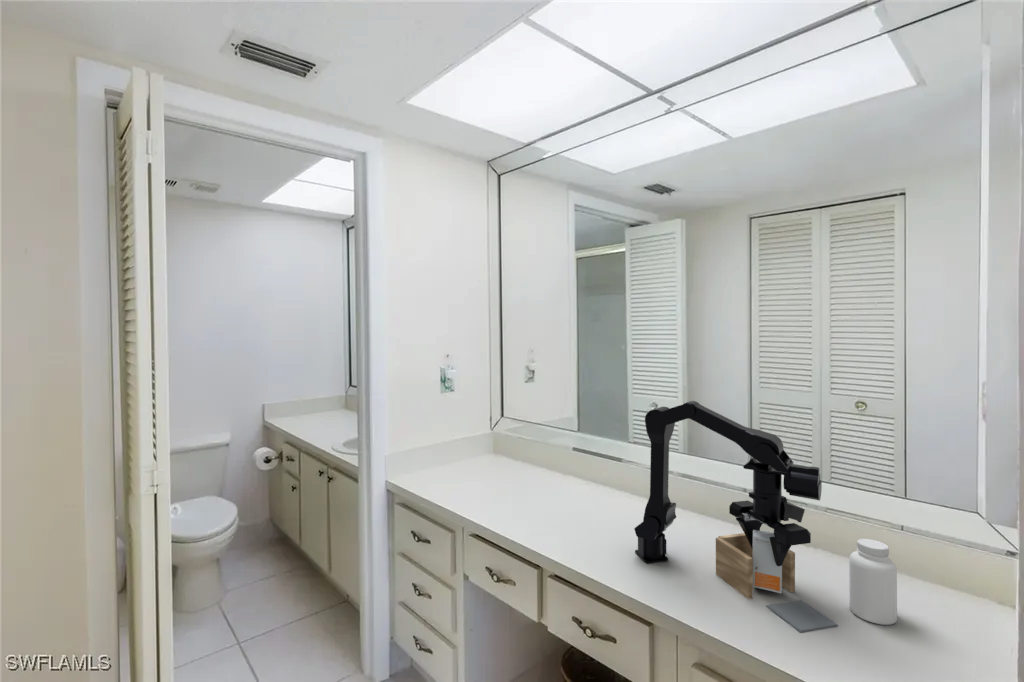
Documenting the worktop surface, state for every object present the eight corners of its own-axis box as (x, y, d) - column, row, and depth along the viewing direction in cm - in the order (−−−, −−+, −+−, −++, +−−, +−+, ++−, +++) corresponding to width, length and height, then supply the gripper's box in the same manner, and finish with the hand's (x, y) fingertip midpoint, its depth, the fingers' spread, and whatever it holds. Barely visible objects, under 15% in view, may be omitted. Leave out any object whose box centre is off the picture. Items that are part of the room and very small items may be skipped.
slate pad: (800, 632, 93) (800, 630, 93) (766, 606, 102) (766, 605, 102) (837, 626, 95) (837, 624, 95) (801, 601, 104) (801, 599, 104)
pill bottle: (875, 603, 103) (876, 535, 103) (907, 626, 95) (908, 552, 95) (840, 604, 103) (840, 535, 103) (869, 627, 95) (869, 553, 95)
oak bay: (747, 599, 105) (748, 558, 105) (714, 572, 117) (714, 536, 117) (794, 591, 108) (795, 552, 108) (757, 566, 119) (757, 531, 119)
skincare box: (752, 588, 108) (752, 535, 107) (752, 579, 111) (752, 528, 111) (782, 594, 105) (782, 541, 104) (781, 585, 108) (781, 533, 108)
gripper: (832, 501, 100) (832, 574, 101) (766, 475, 119) (766, 537, 119) (788, 506, 98) (787, 581, 98) (727, 479, 116) (727, 542, 116)
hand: (766, 558), depth 108 cm, fingers closed on skincare box, 7 cm apart
